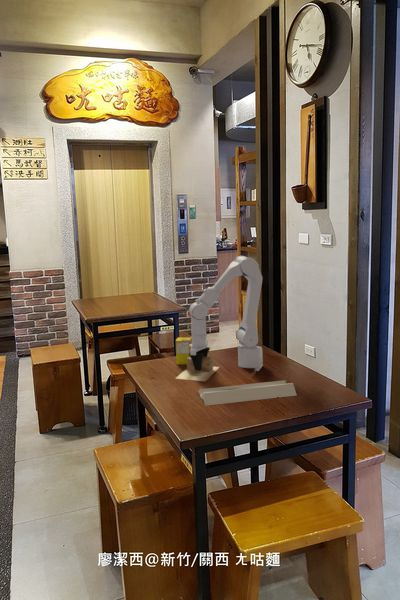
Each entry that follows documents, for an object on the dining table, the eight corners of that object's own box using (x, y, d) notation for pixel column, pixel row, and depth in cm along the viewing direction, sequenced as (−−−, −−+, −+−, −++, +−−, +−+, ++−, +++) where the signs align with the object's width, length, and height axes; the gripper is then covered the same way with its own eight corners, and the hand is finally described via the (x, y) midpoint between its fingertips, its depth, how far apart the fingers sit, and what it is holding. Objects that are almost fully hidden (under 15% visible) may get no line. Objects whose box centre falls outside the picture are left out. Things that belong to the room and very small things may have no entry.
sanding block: (213, 369, 191) (212, 357, 190) (209, 373, 187) (208, 360, 186) (191, 367, 194) (190, 355, 194) (187, 371, 190) (186, 358, 189)
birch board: (219, 369, 194) (219, 367, 194) (205, 383, 179) (205, 381, 179) (191, 367, 199) (191, 364, 198) (174, 381, 183) (174, 378, 183)
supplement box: (192, 362, 205) (191, 336, 203) (191, 366, 199) (190, 340, 198) (178, 362, 206) (177, 336, 204) (176, 366, 200) (175, 340, 198)
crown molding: (284, 385, 176) (284, 376, 175) (297, 397, 165) (297, 387, 164) (198, 394, 170) (198, 384, 169) (205, 407, 159) (205, 397, 158)
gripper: (195, 329, 196) (196, 361, 199) (182, 338, 183) (183, 373, 185) (212, 329, 194) (213, 363, 196) (200, 339, 181) (201, 374, 183)
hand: (200, 368), depth 191 cm, fingers closed on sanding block, 4 cm apart
